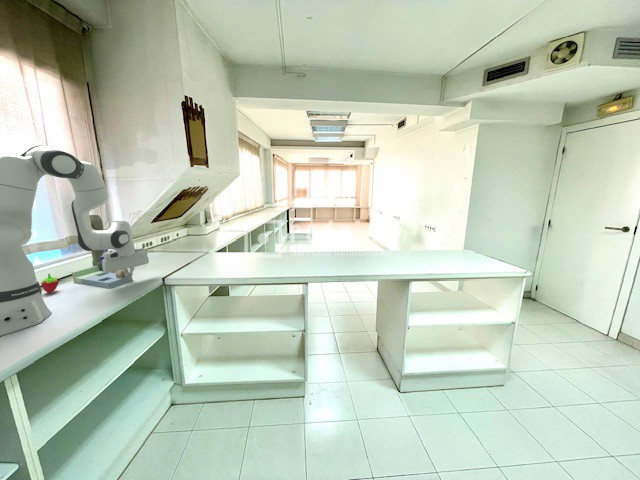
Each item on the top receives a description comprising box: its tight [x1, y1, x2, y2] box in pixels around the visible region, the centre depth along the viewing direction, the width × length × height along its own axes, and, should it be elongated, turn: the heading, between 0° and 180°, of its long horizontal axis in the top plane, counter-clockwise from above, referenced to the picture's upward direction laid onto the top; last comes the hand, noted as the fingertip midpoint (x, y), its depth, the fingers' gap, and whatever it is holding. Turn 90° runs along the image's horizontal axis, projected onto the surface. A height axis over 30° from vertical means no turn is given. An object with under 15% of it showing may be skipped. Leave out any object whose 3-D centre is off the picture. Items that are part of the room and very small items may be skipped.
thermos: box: [89, 214, 109, 271], centre depth 156 cm, size 9×12×35 cm
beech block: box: [115, 268, 129, 278], centre depth 139 cm, size 4×4×4 cm
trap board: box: [71, 266, 134, 289], centre depth 140 cm, size 12×28×6 cm, turn 71°
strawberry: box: [40, 273, 60, 294], centre depth 125 cm, size 6×7×10 cm
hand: (129, 275), depth 137 cm, fingers closed
